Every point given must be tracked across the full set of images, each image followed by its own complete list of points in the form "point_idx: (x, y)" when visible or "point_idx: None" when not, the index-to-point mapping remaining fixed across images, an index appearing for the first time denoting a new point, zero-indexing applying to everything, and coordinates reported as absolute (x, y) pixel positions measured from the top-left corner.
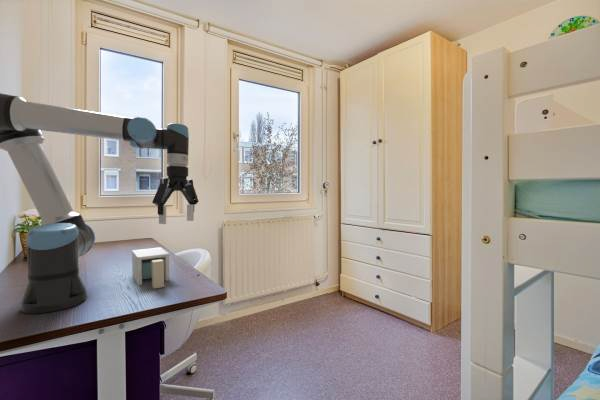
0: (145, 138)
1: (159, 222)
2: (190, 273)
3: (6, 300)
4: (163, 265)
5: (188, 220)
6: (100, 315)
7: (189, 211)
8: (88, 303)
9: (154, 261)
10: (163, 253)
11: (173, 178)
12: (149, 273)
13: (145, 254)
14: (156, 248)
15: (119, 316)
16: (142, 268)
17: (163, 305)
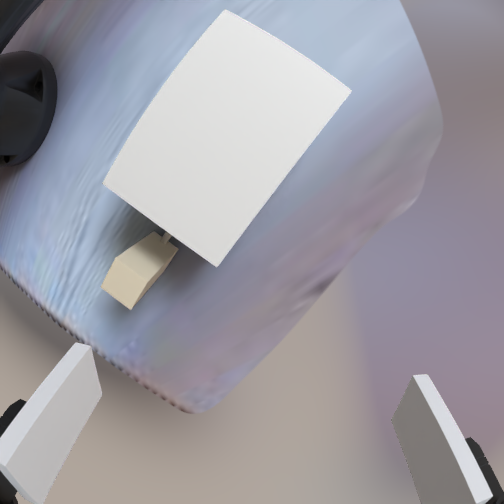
0: None
1: (72, 353)
2: (335, 244)
3: None
4: (137, 301)
5: (405, 392)
6: (17, 261)
7: (431, 463)
8: (32, 174)
9: (109, 282)
10: (208, 236)
11: None
12: None
13: (159, 162)
14: (312, 92)
15: (30, 298)
16: None
17: (90, 343)
